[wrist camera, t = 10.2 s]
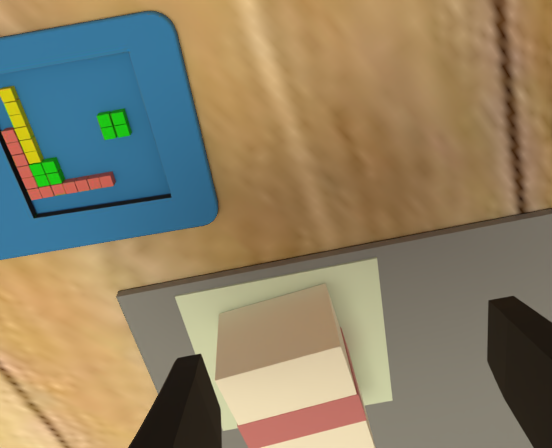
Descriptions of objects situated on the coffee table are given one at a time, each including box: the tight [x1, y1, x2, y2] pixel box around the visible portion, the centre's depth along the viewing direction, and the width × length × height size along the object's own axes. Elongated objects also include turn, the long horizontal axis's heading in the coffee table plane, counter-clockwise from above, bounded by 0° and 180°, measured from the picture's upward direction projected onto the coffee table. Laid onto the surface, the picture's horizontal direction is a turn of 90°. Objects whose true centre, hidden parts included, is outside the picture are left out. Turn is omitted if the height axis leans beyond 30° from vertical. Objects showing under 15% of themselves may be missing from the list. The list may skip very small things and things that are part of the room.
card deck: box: [215, 283, 376, 448], centre depth 23 cm, size 7×5×4 cm
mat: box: [116, 209, 552, 448], centre depth 26 cm, size 20×16×1 cm
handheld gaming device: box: [0, 11, 218, 260], centre depth 19 cm, size 8×1×15 cm
